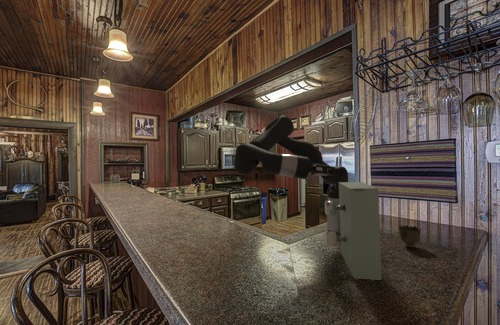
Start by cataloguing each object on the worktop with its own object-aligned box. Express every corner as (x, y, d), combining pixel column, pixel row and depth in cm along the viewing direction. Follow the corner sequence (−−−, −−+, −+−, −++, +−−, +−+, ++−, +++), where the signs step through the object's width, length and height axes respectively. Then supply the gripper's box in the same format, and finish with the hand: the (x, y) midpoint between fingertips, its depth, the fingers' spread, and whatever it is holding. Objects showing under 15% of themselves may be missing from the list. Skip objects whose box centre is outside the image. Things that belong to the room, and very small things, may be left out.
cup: (425, 250, 91) (424, 230, 91) (404, 250, 92) (403, 229, 92) (415, 243, 98) (415, 225, 98) (396, 243, 99) (395, 224, 99)
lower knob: (327, 248, 80) (327, 233, 80) (326, 243, 85) (325, 229, 85) (349, 249, 79) (349, 234, 79) (346, 243, 84) (345, 230, 84)
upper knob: (326, 216, 80) (326, 202, 80) (325, 213, 85) (324, 199, 85) (348, 216, 79) (347, 202, 79) (345, 213, 84) (344, 199, 84)
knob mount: (353, 279, 72) (349, 188, 71) (341, 253, 91) (338, 182, 91) (381, 280, 70) (378, 188, 70) (363, 254, 90) (360, 182, 89)
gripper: (300, 153, 72) (351, 161, 72) (290, 156, 86) (333, 163, 86) (296, 177, 71) (348, 185, 72) (287, 177, 85) (330, 183, 86)
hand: (340, 173), depth 79 cm, fingers open, 8 cm apart
